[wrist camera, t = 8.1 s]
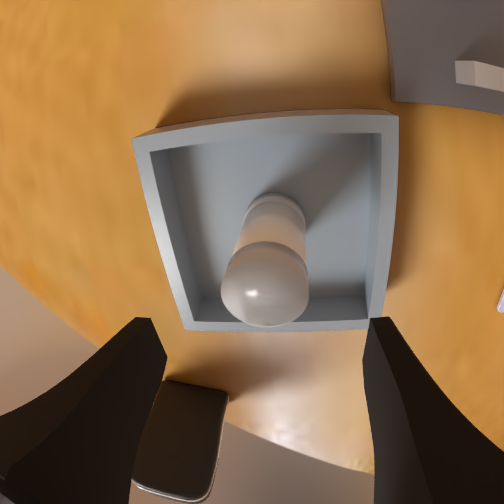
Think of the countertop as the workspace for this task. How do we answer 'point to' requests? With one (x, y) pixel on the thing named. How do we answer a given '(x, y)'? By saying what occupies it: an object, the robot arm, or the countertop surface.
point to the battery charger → (181, 443)
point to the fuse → (268, 264)
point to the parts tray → (283, 181)
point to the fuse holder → (446, 52)
